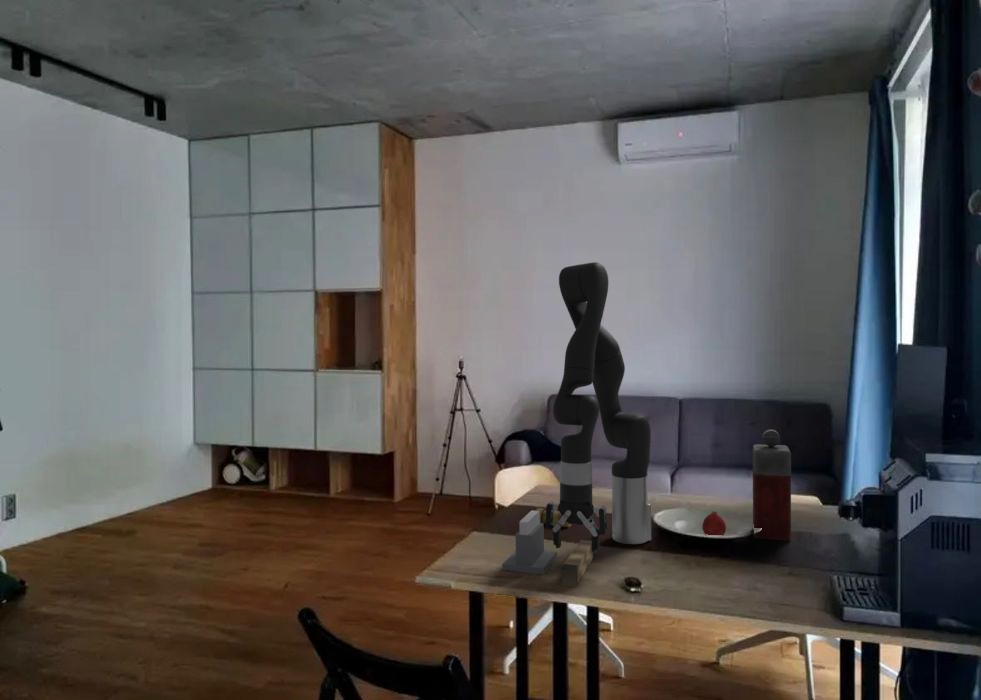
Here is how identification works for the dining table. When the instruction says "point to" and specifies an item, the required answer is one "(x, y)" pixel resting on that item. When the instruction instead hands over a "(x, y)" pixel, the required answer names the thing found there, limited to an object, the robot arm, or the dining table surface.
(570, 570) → the oak beam
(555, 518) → the gavel
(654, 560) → the dining table surface
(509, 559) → the stand
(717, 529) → the onion
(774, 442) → the red liquor decanter
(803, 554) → the dining table surface
